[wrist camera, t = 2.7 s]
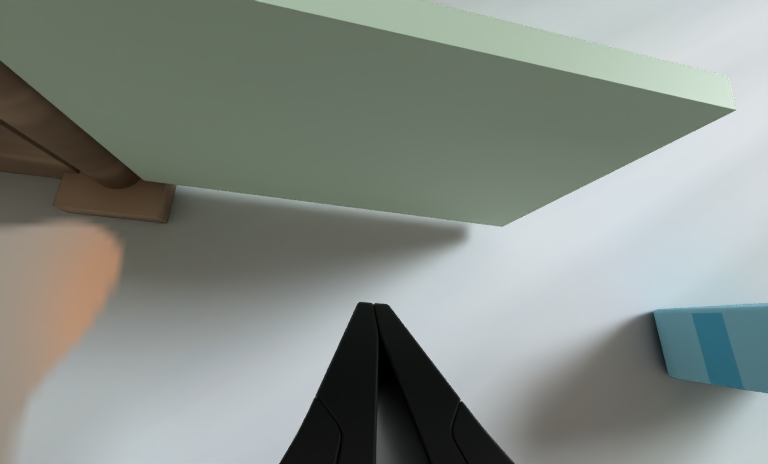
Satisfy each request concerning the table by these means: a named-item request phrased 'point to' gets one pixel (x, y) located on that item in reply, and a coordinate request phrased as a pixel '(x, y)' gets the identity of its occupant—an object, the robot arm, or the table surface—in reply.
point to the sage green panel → (354, 99)
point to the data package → (717, 344)
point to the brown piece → (71, 159)
